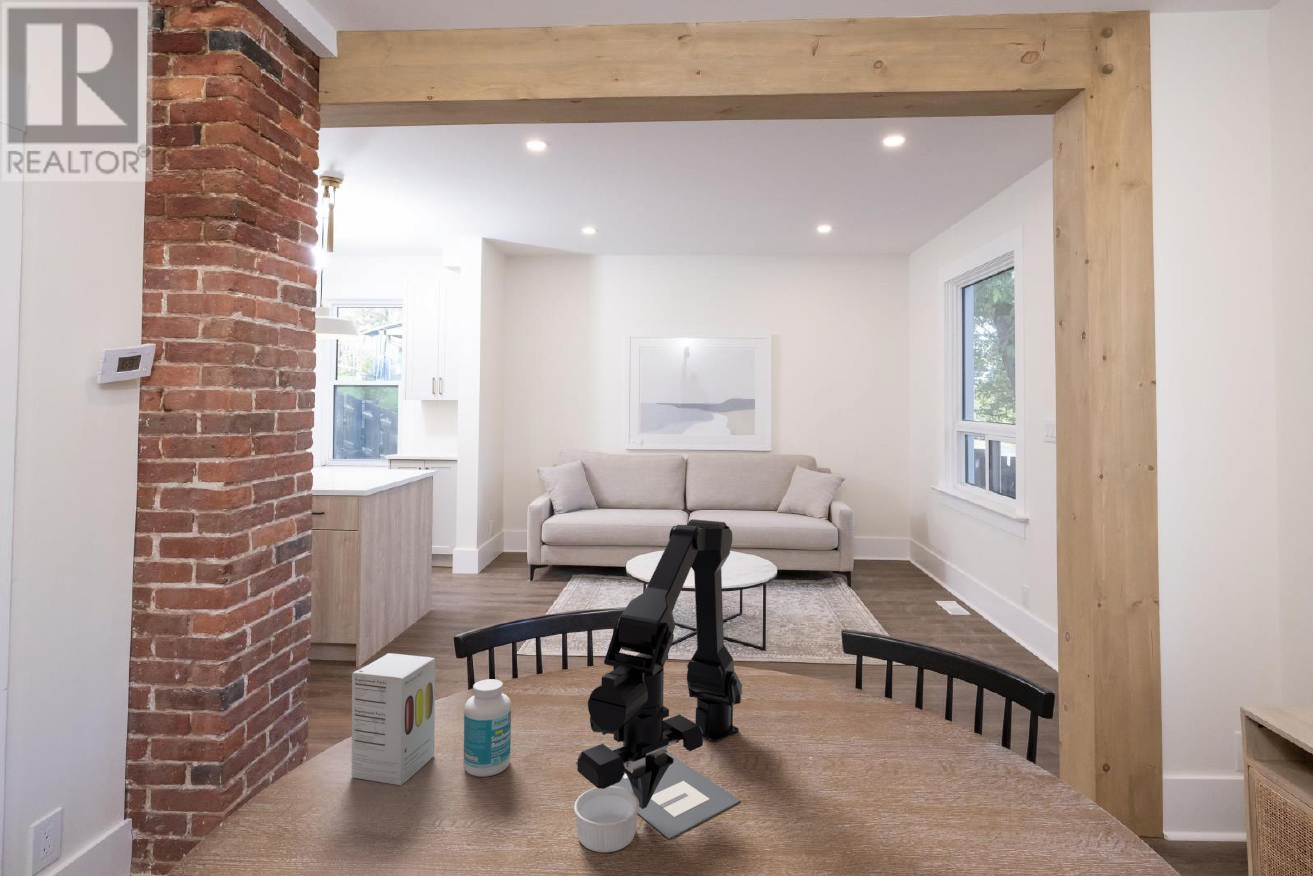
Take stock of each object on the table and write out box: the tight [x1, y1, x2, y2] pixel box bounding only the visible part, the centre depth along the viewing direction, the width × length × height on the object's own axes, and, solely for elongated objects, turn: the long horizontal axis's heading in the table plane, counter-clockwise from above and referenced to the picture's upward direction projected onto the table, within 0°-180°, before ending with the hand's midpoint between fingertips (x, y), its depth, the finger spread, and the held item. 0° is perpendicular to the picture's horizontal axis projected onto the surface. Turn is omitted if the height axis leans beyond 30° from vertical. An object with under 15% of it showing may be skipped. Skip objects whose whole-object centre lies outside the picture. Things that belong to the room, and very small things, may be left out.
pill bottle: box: [463, 678, 512, 778], centre depth 103 cm, size 8×7×14 cm
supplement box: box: [351, 652, 436, 786], centre depth 102 cm, size 10×9×17 cm
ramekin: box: [573, 786, 639, 853], centre depth 86 cm, size 9×9×4 cm
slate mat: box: [575, 743, 742, 840], centre depth 99 cm, size 14×24×1 cm, turn 39°
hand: (642, 807), depth 90 cm, fingers closed
